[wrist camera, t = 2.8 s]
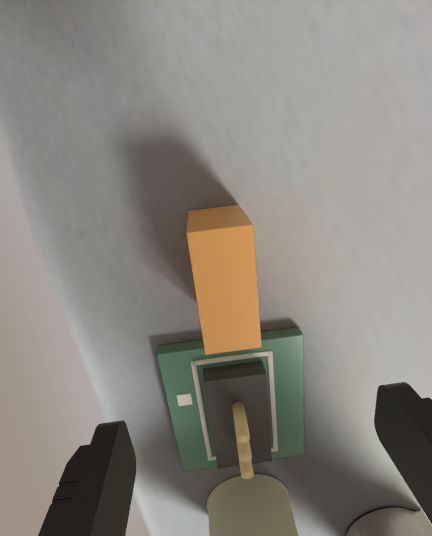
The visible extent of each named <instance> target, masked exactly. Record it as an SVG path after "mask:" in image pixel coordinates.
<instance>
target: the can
mask: <svg viewBox="0 0 432 536" xmlns="http://www.w3.org/2000/svg"><path fill="white" fill-rule="evenodd" d="M207 511H208V516H209V533H210V536H298V533H297V529H296V525H295V521H294V517H293V514H292V510H291V505H290V497H289V492H288V490H287V488H286V487H285V486H284V484H283V483H282V482H280V481H279V480H277V479H276V478H273V477H271V476H268V475H263V474H254V476H253V477H252V478H250V479H243V478H242V477H241V475H238V476H235V477H232V478H230V479H227V480H225V481H224V482H222V483H220V484H219V485H218V486H217V487H216V488H215V489H214V490H213V491H212V492H211V494H210V495H209V498H208V501H207Z"/></svg>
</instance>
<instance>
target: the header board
mask: <svg viewBox="0 0 432 536" xmlns="http://www.w3.org/2000/svg"><path fill="white" fill-rule="evenodd" d="M261 344H262V347H259V348H252V349H245V350H237V351H230V352H222V353H215V354H208V355H205V349H204V342H203V340H198V341H190V342H183V343H175V344H168V345H160V346H158V351H157V358H158V362H159V367H160V371H161V375H162V380H163V384H164V389H165V393H166V397H167V402H168V406H169V411H170V415H171V419H172V424H173V428H174V433H175V437H176V441H177V446H178V450H179V455H180V459H181V463H182V468H183V471H189V470H196V469H203V468H210V467H217V468H223V467H230V466H237V465H240V471H241V477H242V478H243V479H250V478H252V477H253V476H254V472H253V467H252V463H259V462H266V461H272V459H274V458H281V457H289V456H296V455H303V454H304V381H303V334H302V332H301V331H300V329H299V327H295V328H287V329H280V330H272V331H265V332H261Z"/></svg>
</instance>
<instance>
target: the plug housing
mask: <svg viewBox="0 0 432 536" xmlns="http://www.w3.org/2000/svg"><path fill="white" fill-rule="evenodd" d="M187 239H188V246H189V252H190V259H191V265H192V271H193V278H194V284H195V291H196V297H197V304H198V310H199V317H200V323H201V329H202V336H203V342H204V349H205V355H208V354H215V353H222V352H230V351H237V350H245V349H252V348H259V347H262V344H261V330H260V316H259V302H258V288H257V274H256V260H255V246H254V231H253V224H252V222H251V221H250V220H249V218H248V217H247V216H246V214H245V213H244V211H243V210H242V209H241V207H240V206H239V205H231V206H223V207H215V208H207V209H199V210H191V211H189V212H188V223H187Z"/></svg>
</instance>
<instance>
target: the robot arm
mask: <svg viewBox="0 0 432 536" xmlns="http://www.w3.org/2000/svg"><path fill="white" fill-rule="evenodd" d="M374 423H375V429H376V432H377V435H378V438H379V440H380V442H381V443H382V445H383V447H384V448H385V450H386V451H387V453H388V455H389V456H390V458H391V459H392V461H393V463H394V464H395V466H396V467H397V469H398V471H399V472H400V474H401V475H402V477H403V479H404V480H405V482H406V483H407V485H408V487H409V488H410V490H411V491H412V493H413V495H414V496H415V498H416V499H417V501H418V503H419V504H420V506H421V507H422V509H423V511H424V512H425V514H426V515H427V517H428V519H429V520H430V522H431V523H432V400H431V399H430V398H423V399H422V398H421V397H420V396H419V395H418V394H417V393H416V392H415V391H414V389H413V388H412V387H411V386H410V385H409V384H407V383H405V382H402V383H395V384H387V385H380V386H379V387H378V391H377V400H376V409H375V419H374ZM135 476H136V456H135V452H134V449H133V445H132V442H131V439H130V436H129V432H128V429H127V426H126V423H125V422H124V421H117V422H110V423H102V424H99V425H98V426H97V427H96V430H95V432H94V435H93V438H92V441H91V444H90V445H83V446H80V447H79V448H78V450H77V451H76V452H75V454H74V455H73V456H72V457H71V459H70V460H69V462H68V463H67V465H66V467H65V470H64V472H63V475H62V477H61V479H60V482H59V487H57V490H56V492H55V495H54V497H53V500H52V504H51V505H50V507H49V510H48V512H47V515H46V517H45V520H44V522H43V525H42V528H41V530H40V532H39V535H38V536H125V532H126V527H127V522H128V516H129V510H130V505H131V499H132V493H133V487H134V482H135ZM423 511H417V512H413V511H410V510H408V509H404V508H385V509H380V510H377V511H374V512H371V513H369V514H366V515H365V516H363V517H361V518H360V519H358V520H357V521H356V522H355V523H354V524H353V525H352V526H351V527H350V529H349V530H348V532H347V536H432V525H431V524H430V522H429V521H428V519H427V517H426V516H425V514H424V512H423Z"/></svg>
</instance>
